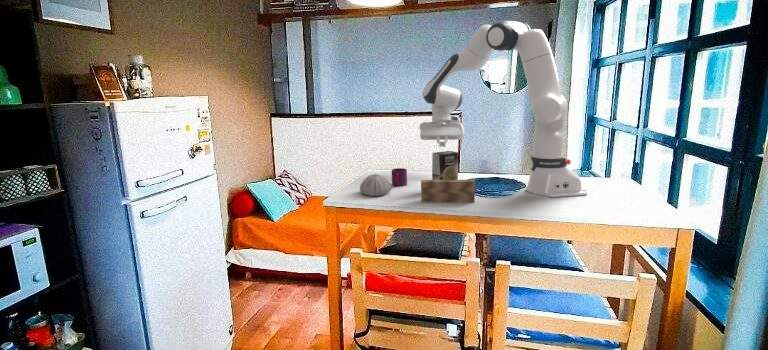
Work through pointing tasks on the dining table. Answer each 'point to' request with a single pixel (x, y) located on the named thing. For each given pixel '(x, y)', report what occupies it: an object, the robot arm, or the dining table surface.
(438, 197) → the brown rectangular block
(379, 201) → the dining table surface
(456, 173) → the coffee box
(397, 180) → the mug
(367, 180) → the sea urchin shell
